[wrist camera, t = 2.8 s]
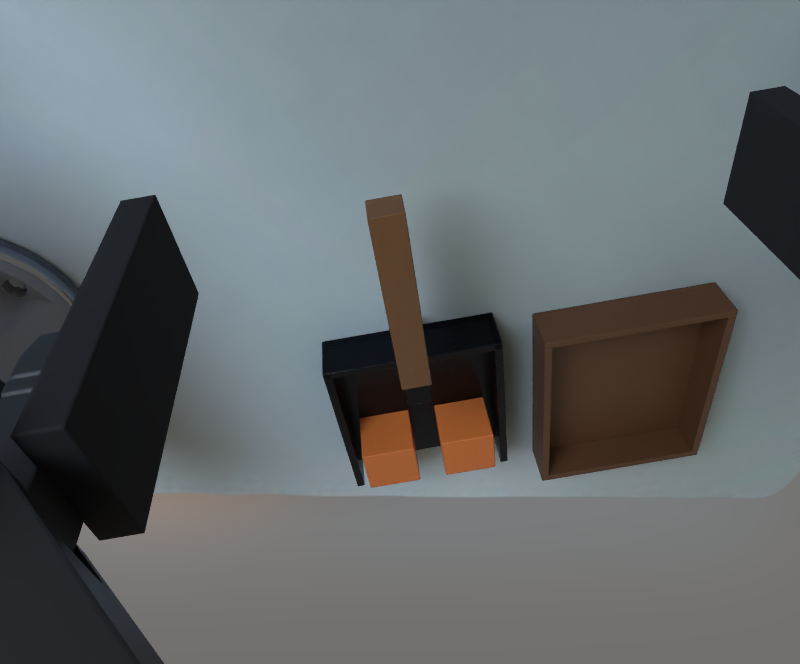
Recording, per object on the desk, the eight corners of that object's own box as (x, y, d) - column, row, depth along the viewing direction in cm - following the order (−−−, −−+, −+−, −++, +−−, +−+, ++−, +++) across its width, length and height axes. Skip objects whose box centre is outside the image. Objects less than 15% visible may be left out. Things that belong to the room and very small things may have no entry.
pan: (269, 168, 38) (260, 238, 32) (481, 129, 38) (513, 193, 32) (356, 453, 57) (360, 531, 51) (498, 429, 57) (520, 504, 51)
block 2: (433, 405, 53) (441, 444, 50) (483, 396, 53) (493, 435, 49) (438, 436, 55) (446, 475, 52) (485, 428, 55) (495, 466, 52)
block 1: (359, 417, 53) (362, 457, 50) (408, 409, 53) (414, 448, 50) (367, 448, 56) (371, 488, 52) (414, 440, 55) (420, 479, 52)
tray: (532, 313, 48) (544, 343, 46) (715, 281, 48) (738, 310, 45) (532, 450, 60) (542, 481, 57) (680, 425, 59) (697, 454, 57)
